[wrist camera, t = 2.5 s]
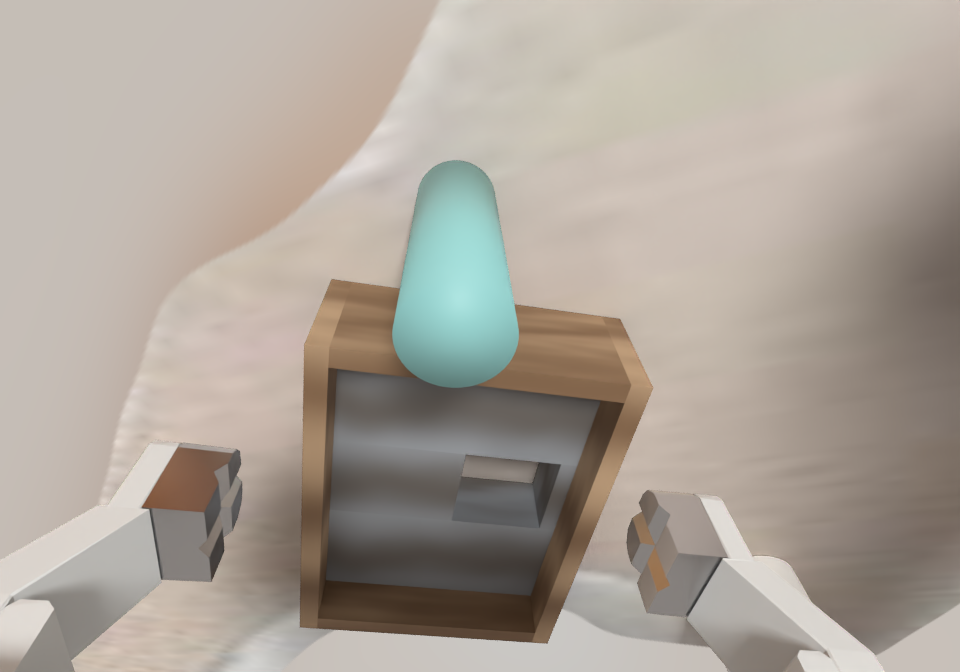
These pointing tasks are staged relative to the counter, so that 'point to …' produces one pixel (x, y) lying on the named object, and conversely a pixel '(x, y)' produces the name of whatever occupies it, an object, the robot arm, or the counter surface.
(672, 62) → the counter surface
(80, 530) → the robot arm
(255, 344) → the counter surface
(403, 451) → the box
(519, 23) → the counter surface
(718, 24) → the counter surface
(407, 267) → the peg
